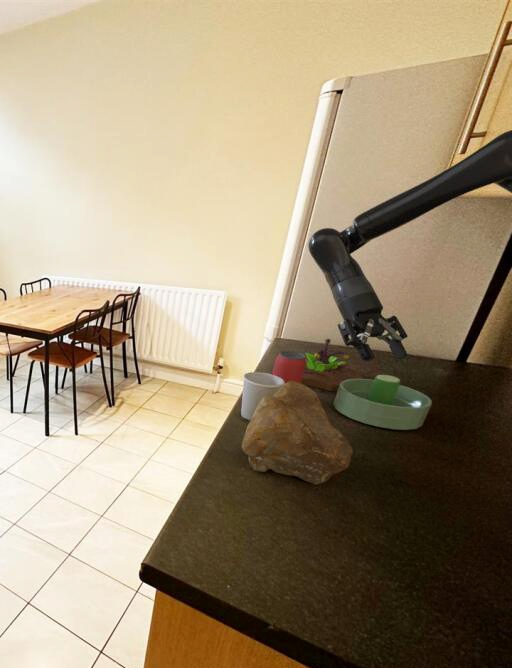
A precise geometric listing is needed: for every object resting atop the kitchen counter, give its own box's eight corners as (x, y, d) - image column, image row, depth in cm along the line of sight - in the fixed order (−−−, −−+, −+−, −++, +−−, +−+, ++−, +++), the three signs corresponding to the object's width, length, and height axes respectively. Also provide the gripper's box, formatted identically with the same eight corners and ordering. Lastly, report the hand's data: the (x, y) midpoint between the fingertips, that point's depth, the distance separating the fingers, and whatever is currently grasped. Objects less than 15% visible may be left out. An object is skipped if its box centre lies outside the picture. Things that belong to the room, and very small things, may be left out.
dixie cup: (282, 423, 97) (293, 384, 92) (248, 425, 96) (257, 386, 92) (259, 407, 104) (268, 370, 100) (227, 409, 104) (235, 372, 100)
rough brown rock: (321, 518, 69) (360, 444, 63) (220, 470, 80) (244, 402, 73) (348, 464, 84) (382, 400, 77) (260, 429, 95) (283, 370, 88)
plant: (363, 374, 120) (376, 338, 116) (359, 398, 107) (373, 357, 103) (283, 360, 133) (292, 326, 128) (270, 379, 120) (280, 342, 115)
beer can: (265, 390, 113) (276, 349, 108) (294, 394, 110) (306, 352, 106) (267, 400, 108) (278, 357, 103) (297, 404, 105) (310, 360, 100)
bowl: (372, 397, 107) (379, 376, 105) (441, 428, 93) (452, 404, 90) (316, 403, 105) (323, 381, 103) (378, 435, 91) (388, 411, 88)
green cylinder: (374, 407, 101) (387, 373, 98) (392, 415, 97) (406, 380, 94) (358, 409, 101) (370, 375, 97) (376, 417, 97) (389, 382, 93)
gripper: (343, 292, 97) (373, 354, 91) (395, 288, 99) (429, 349, 93) (317, 309, 104) (344, 368, 98) (367, 305, 105) (396, 363, 100)
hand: (385, 358), depth 95 cm, fingers open, 8 cm apart
